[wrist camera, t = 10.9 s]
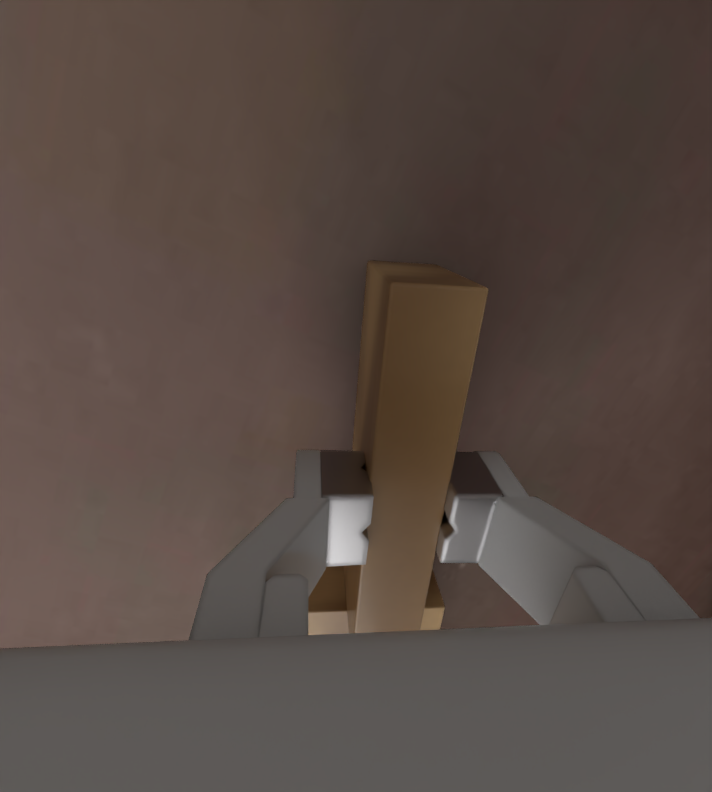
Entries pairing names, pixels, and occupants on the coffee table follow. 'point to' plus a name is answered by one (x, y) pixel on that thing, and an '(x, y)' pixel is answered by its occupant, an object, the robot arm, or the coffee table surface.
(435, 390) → the fork
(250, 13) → the coffee table surface
